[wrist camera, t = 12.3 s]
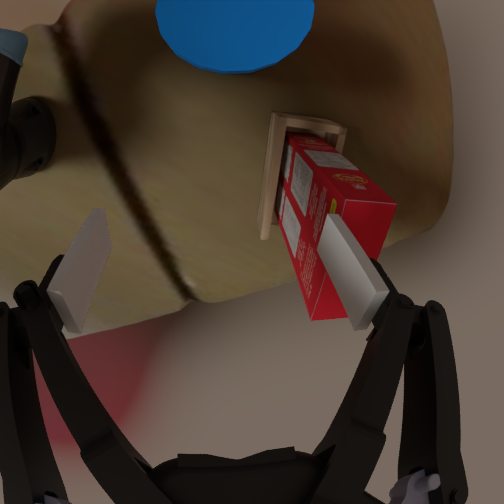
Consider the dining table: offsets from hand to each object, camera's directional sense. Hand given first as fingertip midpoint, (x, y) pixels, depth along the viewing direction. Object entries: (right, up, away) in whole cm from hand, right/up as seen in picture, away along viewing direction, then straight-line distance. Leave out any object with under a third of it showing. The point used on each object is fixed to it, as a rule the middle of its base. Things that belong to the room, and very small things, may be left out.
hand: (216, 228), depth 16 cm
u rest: (+9, +12, +30) cm, 34 cm away
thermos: (-1, +30, +16) cm, 34 cm away
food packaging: (+9, +12, +30) cm, 34 cm away
